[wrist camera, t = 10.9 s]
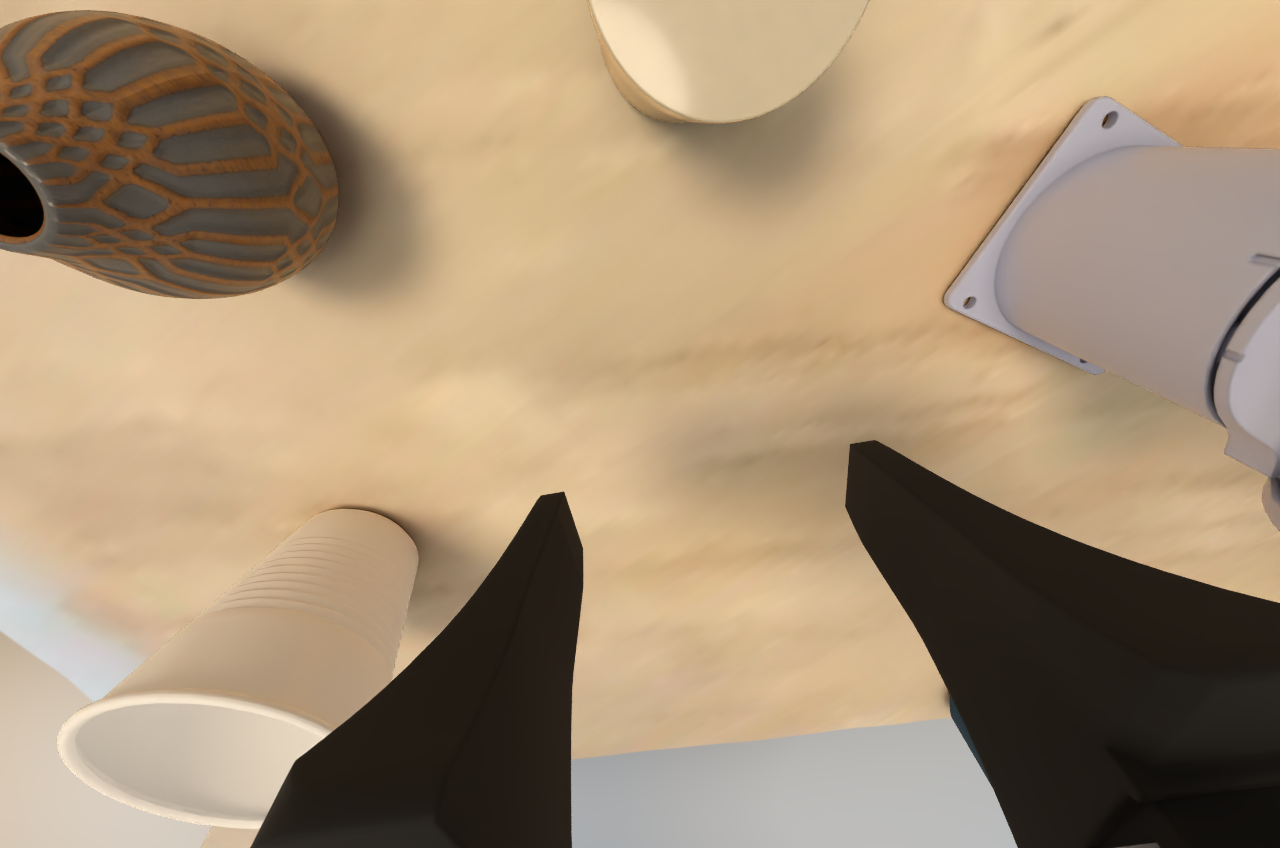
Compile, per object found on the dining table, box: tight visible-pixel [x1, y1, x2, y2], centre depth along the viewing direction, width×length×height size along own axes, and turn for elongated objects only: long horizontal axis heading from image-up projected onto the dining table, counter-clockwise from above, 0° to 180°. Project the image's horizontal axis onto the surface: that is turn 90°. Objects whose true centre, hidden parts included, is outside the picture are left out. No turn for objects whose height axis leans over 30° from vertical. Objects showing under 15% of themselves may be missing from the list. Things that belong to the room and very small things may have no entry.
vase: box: [0, 10, 339, 299], centre depth 13 cm, size 7×7×9 cm
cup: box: [57, 509, 419, 829], centre depth 22 cm, size 10×10×11 cm
